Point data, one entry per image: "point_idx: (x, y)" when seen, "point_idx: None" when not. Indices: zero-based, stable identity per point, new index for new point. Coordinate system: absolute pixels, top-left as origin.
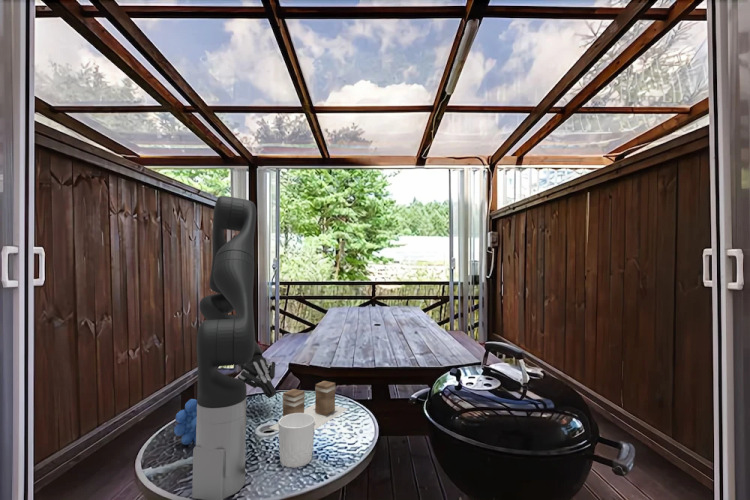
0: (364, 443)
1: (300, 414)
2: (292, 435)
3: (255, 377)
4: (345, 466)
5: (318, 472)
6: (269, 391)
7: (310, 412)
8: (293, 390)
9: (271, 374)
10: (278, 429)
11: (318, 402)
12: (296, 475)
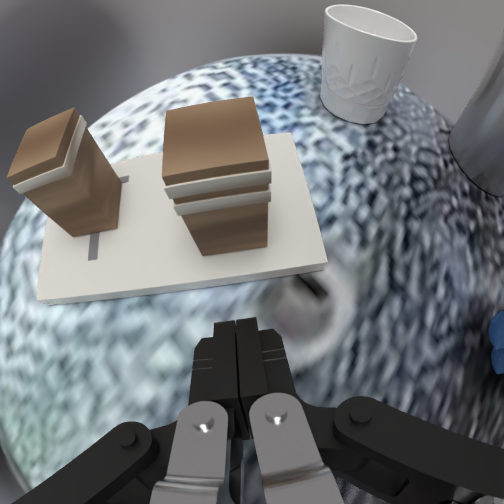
0: (189, 77)
1: (344, 26)
2: (391, 31)
3: (398, 457)
4: (281, 59)
5: None
6: (263, 343)
7: (120, 248)
8: (188, 151)
9: (128, 459)
10: (308, 221)
11: (99, 190)
12: None
